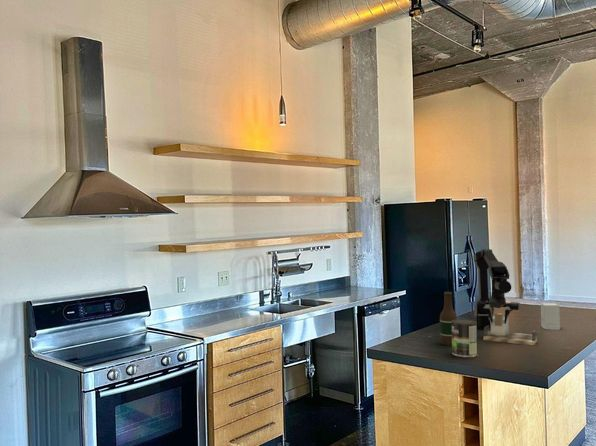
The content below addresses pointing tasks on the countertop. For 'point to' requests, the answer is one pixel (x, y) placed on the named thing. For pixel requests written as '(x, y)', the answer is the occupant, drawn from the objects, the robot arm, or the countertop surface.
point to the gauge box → (503, 323)
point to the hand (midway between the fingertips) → (498, 322)
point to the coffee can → (464, 338)
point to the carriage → (498, 325)
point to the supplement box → (550, 316)
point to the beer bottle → (447, 320)
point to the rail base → (513, 340)
